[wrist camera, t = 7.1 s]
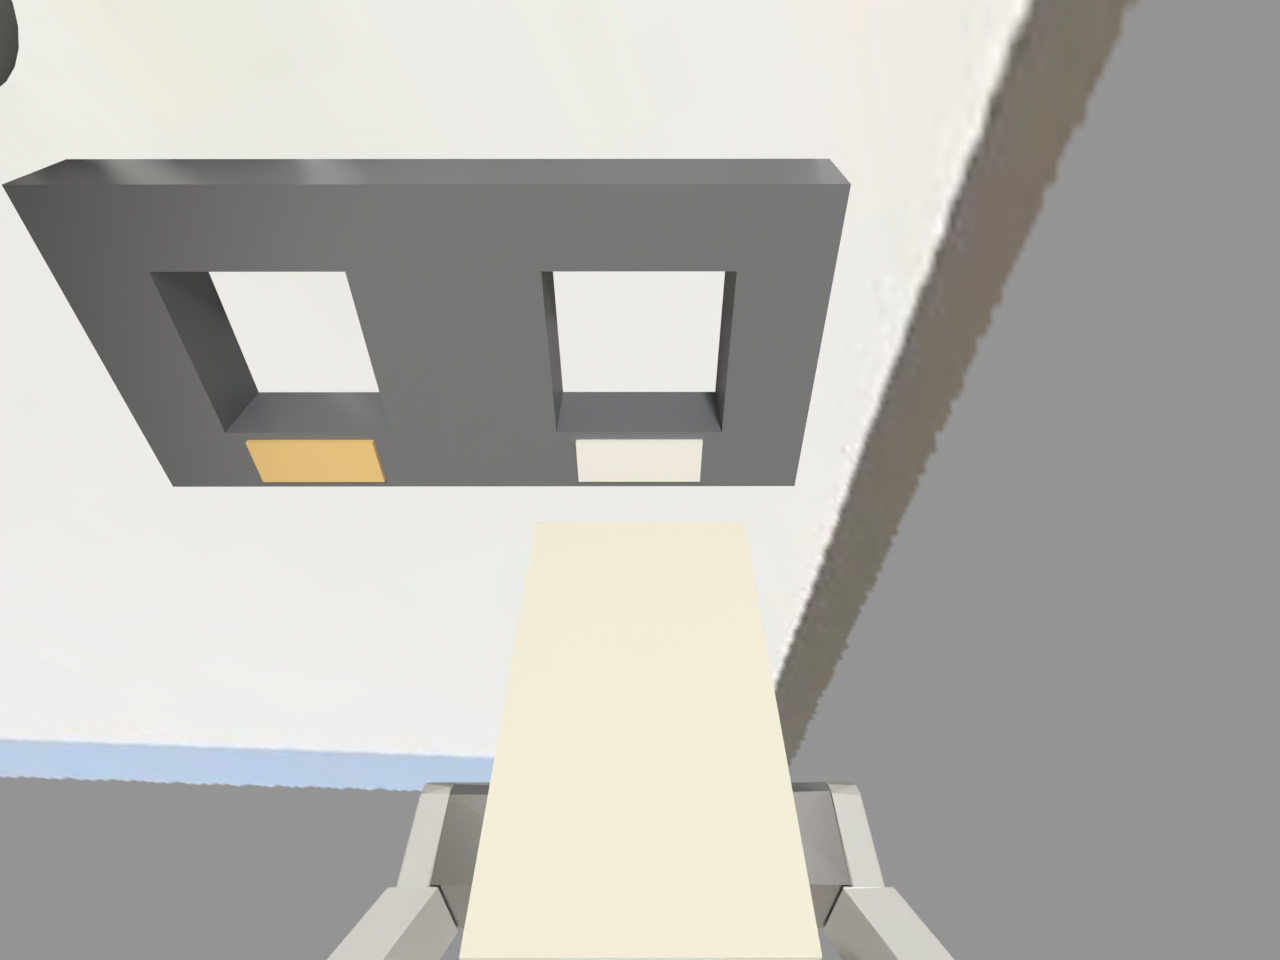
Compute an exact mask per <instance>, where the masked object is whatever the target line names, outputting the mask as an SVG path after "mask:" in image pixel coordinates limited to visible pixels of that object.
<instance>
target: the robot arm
mask: <svg viewBox="0 0 1280 960" xmlns="http://www.w3.org/2000/svg"><path fill="white" fill-rule="evenodd" d="M791 785H792V791H793V796H794V802H795V807H796V813H797V819H798V824H799V830H800V835H801V841H802V846H803V852H804V857H805V863H806V869H807V874H808V880H809V885H810V891H811V896H812V902H813V907H814V913H815V918H816V924H817V928H824V930H823V931H824V933H825V935H826V936H827V938H828V939H829V941H830V942H831V944H832V945H833V947H834V948H835V950H836V951H837V953H838V954H839V956H840V958H841V959H842V960H954V959H953V957H952V956H951V955H950V954H949V953H948V951H947V950H946V949H945V948H944V947H943V945H942V944H941V943H940V942H939V941H938V939H937V938H936V937H935V936H934V935H933V933H932V932H931V931H930V930H929V929H928V927H927V926H926V925H925V924H924V923H923V921H922V920H921V919H920V918H919V917H918V915H917V914H916V913H915V912H914V911H913V909H912V908H911V907H910V906H909V905H908V903H907V902H906V901H905V900H904V899H903V897H902V896H901V895H900V894H899V893H898V891H897V890H896V889H895V888H894V887H890V886H885V885H884V881H883V877H882V873H881V870H880V866H879V862H878V858H877V854H876V851H875V847H874V843H873V839H872V835H871V832H870V828H869V824H868V820H867V817H866V813H865V809H864V805H863V801H862V798H861V794H860V791H859V789H858V788H857V786H856V785H855V784H854V783H853V782H828V781H825V782H797V783H791ZM489 786H490V782H430V783H426V784H425V786H424V788H423V790H422V792H421V794H420V797H419V801H418V805H417V809H416V812H415V816H414V820H413V824H412V828H411V832H410V836H409V839H408V843H407V847H406V851H405V855H404V859H403V862H402V866H401V870H400V874H399V878H398V882H397V886H389V887H387V888H386V889H385V891H384V892H383V893H382V894H381V895H380V897H379V898H378V899H377V900H376V901H375V903H374V904H373V905H372V906H371V907H370V909H369V910H368V911H367V912H366V913H365V915H364V916H363V917H362V918H361V919H360V920H359V922H358V923H357V924H356V925H355V927H354V928H353V929H352V930H351V931H350V932H349V934H348V935H347V936H346V937H345V938H344V940H343V941H342V942H341V943H340V944H339V946H338V947H337V948H336V949H335V950H334V951H333V953H332V954H331V955H330V956H329V957H328V959H327V960H440V958H441V957H442V955H443V954H444V952H445V951H446V949H447V948H448V946H449V945H450V943H451V941H452V940H453V939H454V937H455V936H456V934H457V932H458V930H457V928H464V927H465V921H466V915H467V910H468V904H469V898H470V893H471V887H472V882H473V876H474V870H475V865H476V859H477V853H478V848H479V842H480V837H481V831H482V825H483V820H484V814H485V808H486V803H487V797H488V792H489Z"/></svg>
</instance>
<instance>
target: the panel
mask: <svg viewBox="0 0 1280 960" xmlns="http://www.w3.org/2000/svg"><path fill="white" fill-rule="evenodd" d="M2 186H3V188H4V190H5V192H6V193H7V195H8V197H9V199H10V200H11V202H12V204H13V206H14V207H15V209H16V211H17V213H18V214H19V216H20V218H21V220H22V221H23V223H24V225H25V227H26V229H27V230H28V232H29V234H30V236H31V237H32V239H33V241H34V243H35V244H36V246H37V248H38V250H39V251H40V253H41V255H42V257H43V258H44V260H45V262H46V264H47V266H48V267H49V269H50V271H51V273H52V274H53V276H54V278H55V280H56V281H57V283H58V285H59V287H60V288H61V290H62V292H63V294H64V295H65V297H66V299H67V301H68V303H69V304H70V306H71V308H72V310H73V311H74V313H75V315H76V317H77V318H78V320H79V322H80V324H81V325H82V327H83V329H84V331H85V332H86V334H87V336H88V338H89V340H90V341H91V343H92V345H93V347H94V348H95V350H96V352H97V354H98V355H99V357H100V359H101V361H102V362H103V364H104V366H105V368H106V369H107V371H108V373H109V375H110V377H111V378H112V380H113V382H114V384H115V385H116V387H117V389H118V391H119V392H120V394H121V396H122V398H123V399H124V401H125V403H126V405H127V406H128V408H129V410H130V412H131V414H132V415H133V417H134V419H135V421H136V422H137V424H138V426H139V428H140V429H141V431H142V433H143V435H144V436H145V438H146V440H147V442H148V443H149V445H150V447H151V449H152V451H153V452H154V454H155V456H156V458H157V459H158V461H159V463H160V465H161V466H162V468H163V470H164V472H165V473H166V475H167V477H168V479H169V480H170V482H171V484H172V486H173V487H394V486H795V481H796V475H797V470H798V465H799V459H800V454H801V449H802V443H803V438H804V433H805V427H806V422H807V417H808V411H809V406H810V401H811V395H812V390H813V385H814V379H815V374H816V369H817V363H818V358H819V353H820V347H821V342H822V337H823V331H824V326H825V321H826V315H827V310H828V305H829V299H830V294H831V288H832V283H833V278H834V272H835V267H836V262H837V256H838V251H839V246H840V240H841V235H842V230H843V224H844V219H845V214H846V208H847V203H848V198H849V192H850V187H851V183H850V182H849V181H848V180H847V179H846V177H845V176H844V175H843V174H842V173H841V172H840V170H839V169H838V168H837V167H836V166H835V165H834V163H833V162H832V161H831V160H830V159H65V160H63V161H60V162H58V163H55V164H53V165H50V166H48V167H45V168H43V169H40V170H37V171H35V172H32V173H30V174H27V175H25V176H22V177H20V178H17V179H15V180H12V181H9V182H7V183H4V184H2ZM577 271H725V278H724V290H723V302H722V314H721V327H720V339H719V351H718V363H717V376H716V388H715V392H563V385H562V373H561V361H560V349H559V337H558V325H557V314H556V302H555V290H554V278H553V272H577ZM209 272H345V273H346V276H347V280H348V283H349V287H350V290H351V294H352V298H353V301H354V305H355V308H356V312H357V315H358V319H359V322H360V326H361V329H362V333H363V336H364V340H365V343H366V347H367V350H368V354H369V357H370V361H371V364H372V368H373V371H374V375H375V378H376V382H377V385H378V389H379V392H258V389H257V387H256V384H255V382H254V380H253V377H252V375H251V372H250V370H249V368H248V365H247V363H246V360H245V358H244V356H243V353H242V351H241V348H240V346H239V344H238V341H237V339H236V336H235V334H234V331H233V329H232V327H231V324H230V322H229V319H228V317H227V315H226V312H225V310H224V307H223V305H222V303H221V300H220V298H219V295H218V293H217V291H216V288H215V286H214V283H213V281H212V279H211V276H210V274H209Z"/></svg>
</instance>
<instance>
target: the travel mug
mask: <svg viewBox="0 0 1280 960" xmlns="http://www.w3.org/2000/svg"><path fill="white" fill-rule="evenodd" d="M18 50H19V38H18V24H17V19H16V15H15V10H14V6H13V2H12V0H0V86H2V85H3V84H4V83H5V82H6V81H7V80H8V78H9V76H10V74H11V73H12V71H13V69H14V67H15V64H16V59H17V54H18Z"/></svg>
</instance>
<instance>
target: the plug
mask: <svg viewBox="0 0 1280 960" xmlns="http://www.w3.org/2000/svg"><path fill="white" fill-rule="evenodd" d="M459 959H460V960H821V959H822V952H821V946H820V941H819V935H818V930H817V924H816V918H815V913H814V907H813V902H812V896H811V891H810V885H809V880H808V874H807V869H806V863H805V857H804V852H803V846H802V841H801V835H800V830H799V824H798V819H797V813H796V807H795V802H794V796H793V791H792V785H791V780H790V774H789V769H788V763H787V757H786V752H785V746H784V741H783V735H782V730H781V724H780V719H779V713H778V707H777V702H776V696H775V691H774V685H773V680H772V674H771V669H770V663H769V658H768V652H767V646H766V641H765V635H764V630H763V624H762V619H761V613H760V608H759V602H758V596H757V591H756V585H755V580H754V574H753V569H752V563H751V558H750V552H749V546H748V541H747V535H746V530H745V524H744V522H536V527H535V533H534V538H533V544H532V550H531V555H530V561H529V566H528V572H527V578H526V583H525V589H524V595H523V600H522V606H521V611H520V617H519V623H518V628H517V634H516V640H515V645H514V651H513V656H512V662H511V668H510V673H509V679H508V685H507V690H506V696H505V701H504V707H503V713H502V718H501V724H500V730H499V735H498V741H497V747H496V752H495V758H494V763H493V769H492V775H491V780H490V786H489V792H488V797H487V803H486V808H485V814H484V820H483V825H482V831H481V837H480V842H479V848H478V853H477V859H476V865H475V870H474V876H473V882H472V887H471V893H470V898H469V904H468V910H467V915H466V921H465V927H464V932H463V938H462V944H461V949H460V955H459Z"/></svg>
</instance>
